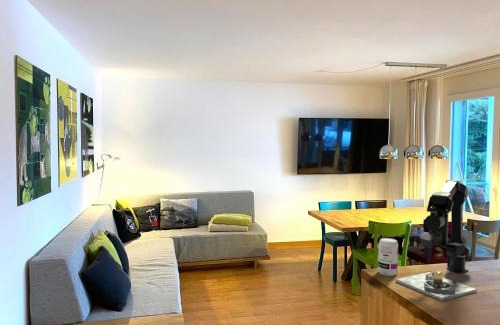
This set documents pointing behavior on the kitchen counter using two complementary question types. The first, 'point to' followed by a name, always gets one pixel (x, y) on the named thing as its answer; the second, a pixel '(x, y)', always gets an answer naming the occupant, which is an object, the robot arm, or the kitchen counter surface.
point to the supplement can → (388, 257)
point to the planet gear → (438, 280)
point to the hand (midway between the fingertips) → (438, 265)
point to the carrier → (422, 285)
